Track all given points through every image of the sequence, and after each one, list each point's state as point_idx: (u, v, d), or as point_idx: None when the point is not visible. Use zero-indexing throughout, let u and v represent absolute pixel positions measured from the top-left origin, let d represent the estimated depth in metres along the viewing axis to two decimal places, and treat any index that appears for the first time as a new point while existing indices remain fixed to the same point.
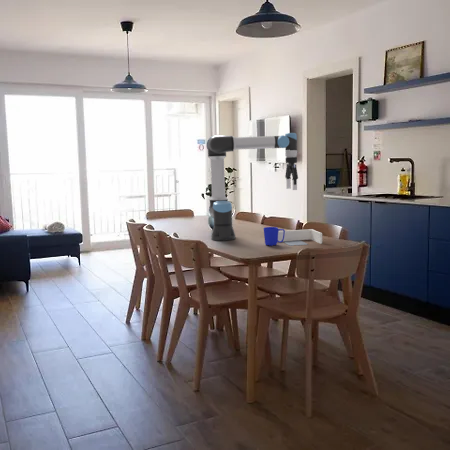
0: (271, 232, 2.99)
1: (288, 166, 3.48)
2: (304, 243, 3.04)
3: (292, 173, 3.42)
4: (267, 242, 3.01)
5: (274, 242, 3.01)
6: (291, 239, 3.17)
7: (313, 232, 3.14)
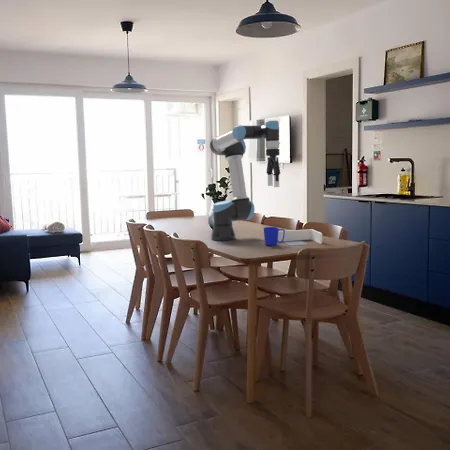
0: (271, 232, 2.99)
1: (269, 159, 2.97)
2: (304, 243, 3.04)
3: (273, 167, 2.92)
4: (267, 242, 3.01)
5: (274, 242, 3.01)
6: (291, 239, 3.17)
7: (313, 232, 3.14)
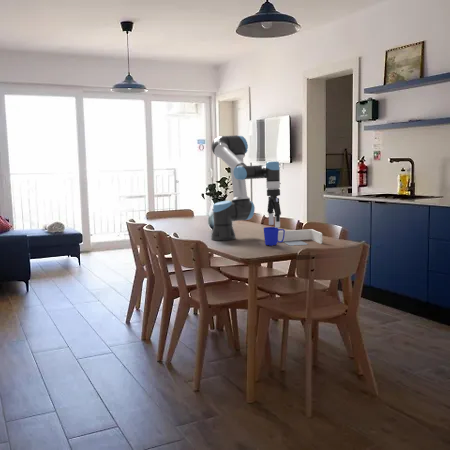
0: (271, 232, 2.99)
1: (270, 199, 3.00)
2: (304, 243, 3.04)
3: (274, 208, 2.95)
4: (267, 242, 3.01)
5: (274, 242, 3.01)
6: (291, 239, 3.17)
7: (313, 232, 3.14)
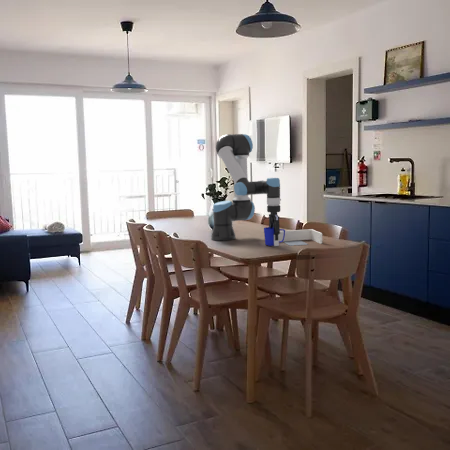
0: (271, 232, 2.98)
1: (270, 215, 3.02)
2: (304, 243, 3.04)
3: (274, 226, 2.98)
4: (267, 242, 3.01)
5: None
6: (291, 239, 3.17)
7: (313, 232, 3.14)
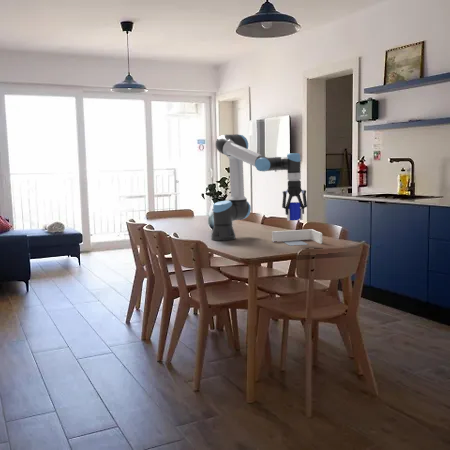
0: None
1: None
2: (304, 243, 3.04)
3: (287, 201, 3.05)
4: None
5: None
6: (291, 239, 3.17)
7: (313, 232, 3.14)
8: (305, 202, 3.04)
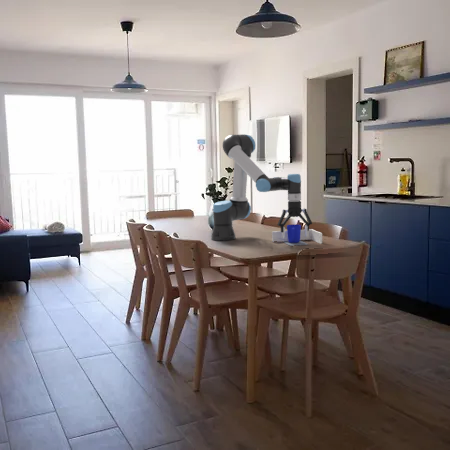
0: (287, 229, 3.08)
1: None
2: (304, 243, 3.04)
3: None
4: None
5: (289, 239, 3.08)
6: None
7: (313, 232, 3.14)
8: (309, 220, 3.06)
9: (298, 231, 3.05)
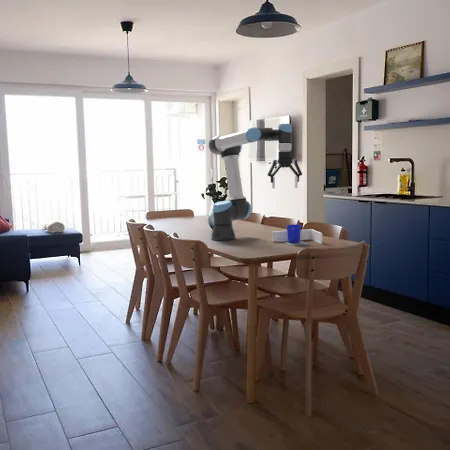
0: (287, 229, 3.08)
1: None
2: (304, 243, 3.04)
3: (275, 169, 3.05)
4: None
5: (289, 239, 3.08)
6: None
7: (313, 232, 3.14)
8: (299, 170, 3.05)
9: (298, 231, 3.05)
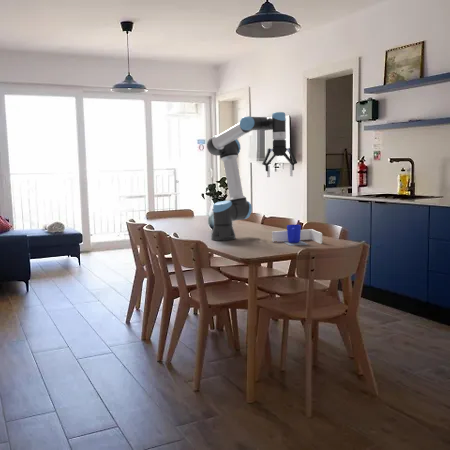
0: (287, 229, 3.08)
1: None
2: (304, 243, 3.04)
3: None
4: None
5: (289, 239, 3.08)
6: None
7: (313, 232, 3.14)
8: (294, 159, 3.05)
9: (298, 231, 3.05)
